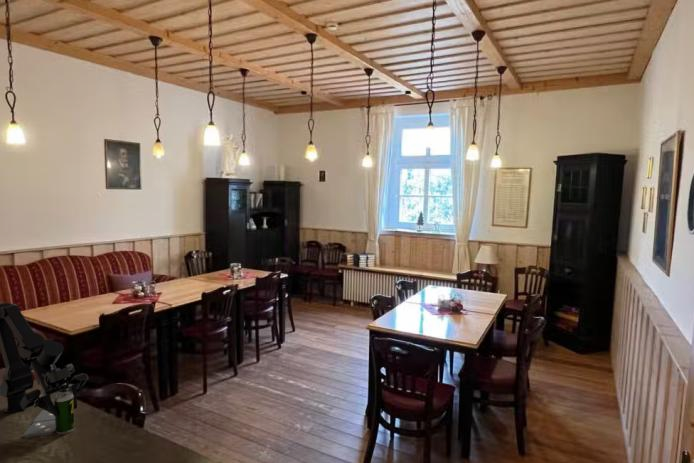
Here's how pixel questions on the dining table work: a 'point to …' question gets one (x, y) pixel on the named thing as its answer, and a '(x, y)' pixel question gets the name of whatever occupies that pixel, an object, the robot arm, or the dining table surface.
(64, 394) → the beer can
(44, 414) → the one-dot tile
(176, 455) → the dining table surface
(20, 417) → the dining table surface
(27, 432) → the three-dot tile
